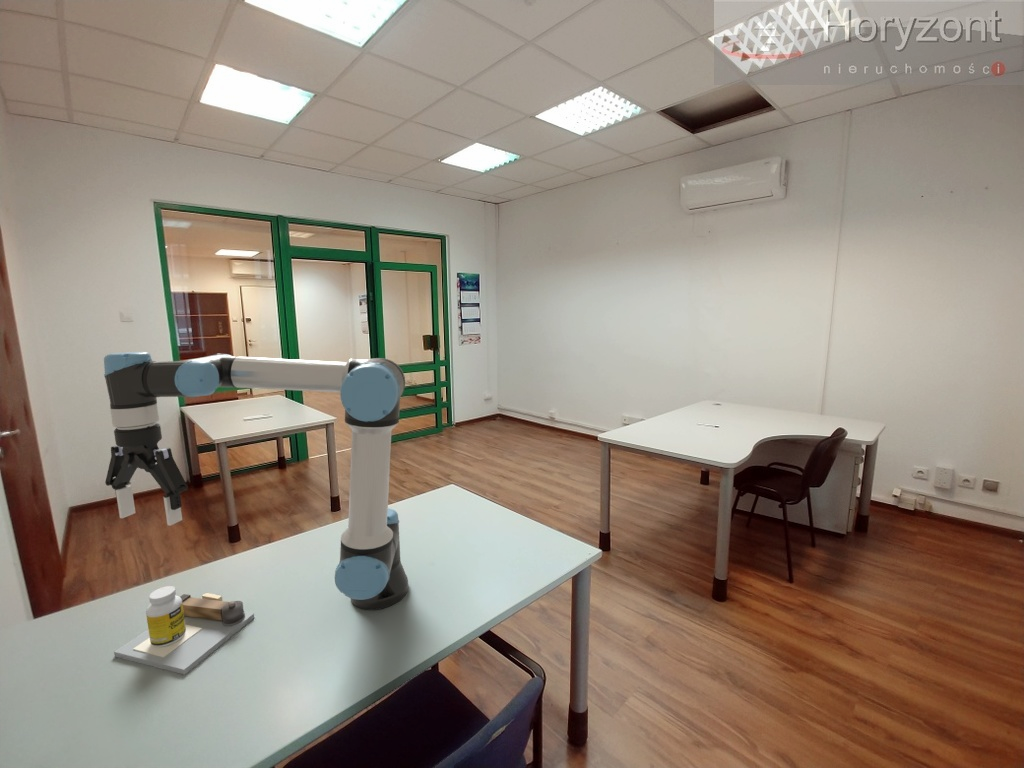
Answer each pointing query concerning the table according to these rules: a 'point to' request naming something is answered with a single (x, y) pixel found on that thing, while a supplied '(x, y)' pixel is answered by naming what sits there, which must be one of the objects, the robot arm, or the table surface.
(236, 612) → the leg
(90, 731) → the table surface
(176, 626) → the pill bottle
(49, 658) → the table surface
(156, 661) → the board
